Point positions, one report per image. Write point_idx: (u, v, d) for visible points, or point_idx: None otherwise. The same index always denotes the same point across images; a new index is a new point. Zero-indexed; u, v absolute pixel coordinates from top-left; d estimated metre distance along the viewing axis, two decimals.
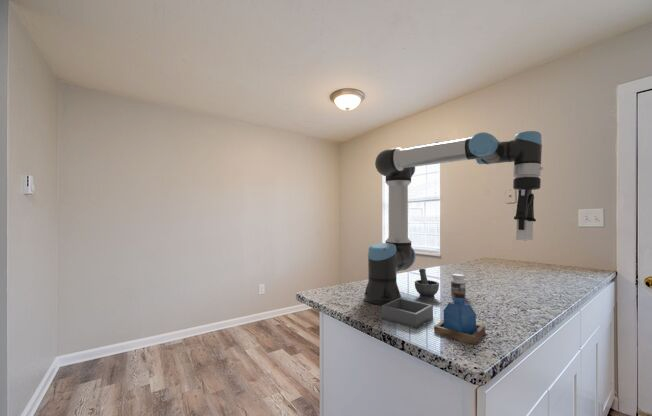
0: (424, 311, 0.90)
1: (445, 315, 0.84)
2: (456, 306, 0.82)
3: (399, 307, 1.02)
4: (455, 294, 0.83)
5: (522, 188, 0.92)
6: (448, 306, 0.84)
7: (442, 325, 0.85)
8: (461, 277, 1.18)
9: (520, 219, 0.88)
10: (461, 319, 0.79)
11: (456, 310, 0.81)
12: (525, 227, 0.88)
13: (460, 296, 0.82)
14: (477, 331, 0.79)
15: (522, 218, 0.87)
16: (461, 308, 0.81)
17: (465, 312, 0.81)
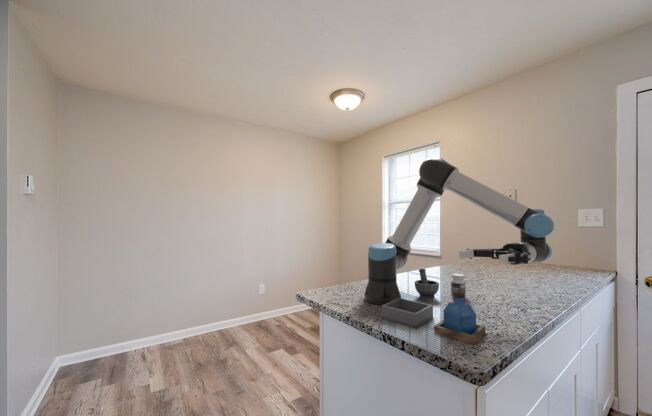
0: (424, 311, 0.90)
1: (445, 315, 0.84)
2: (456, 306, 0.82)
3: (399, 307, 1.02)
4: (455, 294, 0.83)
5: (522, 253, 0.93)
6: (448, 306, 0.84)
7: (442, 325, 0.85)
8: (461, 277, 1.18)
9: (519, 258, 0.84)
10: (461, 319, 0.79)
11: (456, 310, 0.81)
12: (510, 262, 0.84)
13: (460, 296, 0.82)
14: (477, 331, 0.79)
15: (522, 260, 0.83)
16: (461, 308, 0.81)
17: (465, 312, 0.81)
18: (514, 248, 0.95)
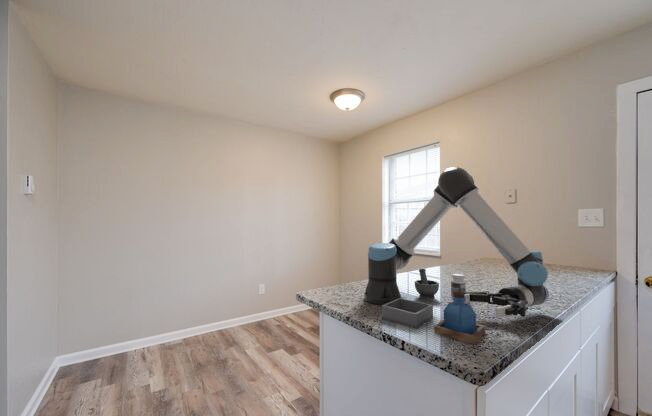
0: (424, 311, 0.90)
1: (445, 315, 0.84)
2: (456, 306, 0.82)
3: (399, 307, 1.02)
4: (455, 294, 0.83)
5: (519, 300, 0.90)
6: (448, 306, 0.84)
7: (442, 325, 0.85)
8: (461, 277, 1.18)
9: (516, 310, 0.81)
10: (461, 319, 0.79)
11: (456, 310, 0.81)
12: (506, 314, 0.81)
13: (460, 296, 0.82)
14: (477, 331, 0.79)
15: (519, 313, 0.81)
16: (461, 308, 0.81)
17: (465, 312, 0.80)
18: (511, 294, 0.93)
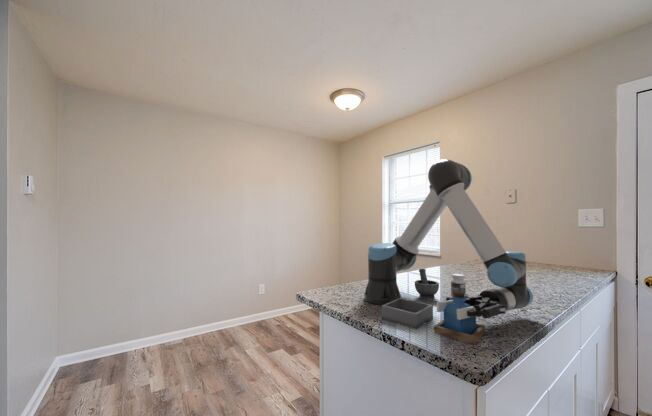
0: (424, 311, 0.90)
1: (445, 315, 0.84)
2: (456, 306, 0.82)
3: (399, 307, 1.02)
4: (455, 294, 0.83)
5: (500, 304, 0.86)
6: (448, 306, 0.84)
7: (442, 325, 0.85)
8: (461, 277, 1.18)
9: (479, 312, 0.79)
10: (461, 319, 0.79)
11: (456, 310, 0.81)
12: None
13: (460, 296, 0.82)
14: (477, 331, 0.79)
15: (481, 314, 0.79)
16: (461, 307, 0.81)
17: None
18: (492, 296, 0.89)
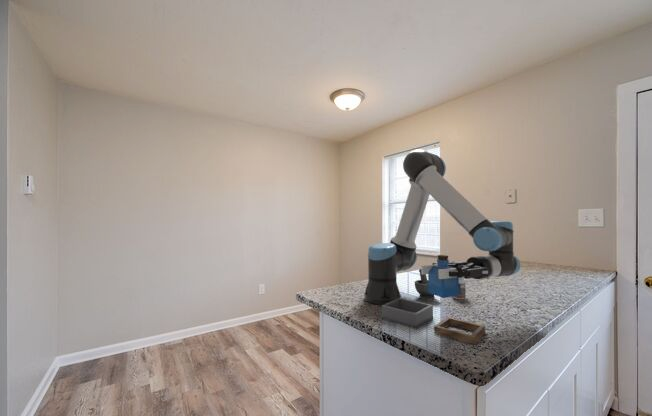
0: (424, 311, 0.90)
1: (429, 277, 0.88)
2: (439, 268, 0.85)
3: (399, 307, 1.02)
4: (439, 257, 0.87)
5: (484, 268, 0.88)
6: (432, 269, 0.88)
7: (442, 325, 0.85)
8: (461, 277, 1.18)
9: (460, 273, 0.83)
10: (443, 279, 0.83)
11: None
12: (450, 276, 0.83)
13: (443, 258, 0.86)
14: (477, 331, 0.79)
15: (462, 275, 0.82)
16: None
17: None
18: (477, 262, 0.92)
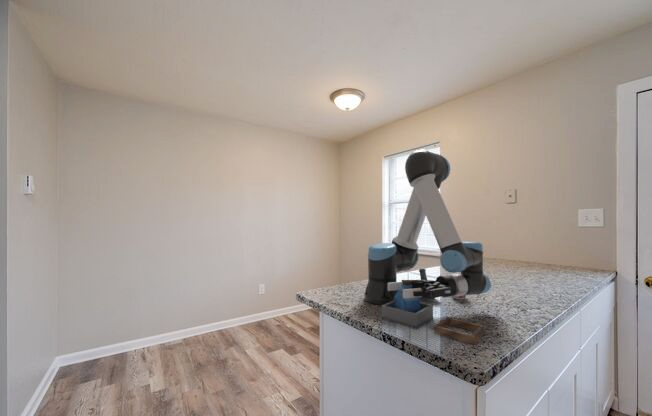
0: (424, 311, 0.90)
1: (395, 300, 0.97)
2: (402, 292, 0.94)
3: None
4: (403, 282, 0.95)
5: None
6: (397, 292, 0.96)
7: (442, 325, 0.85)
8: None
9: (424, 293, 0.89)
10: (405, 303, 0.91)
11: (402, 295, 0.93)
12: None
13: (406, 284, 0.94)
14: (477, 331, 0.79)
15: (426, 295, 0.89)
16: None
17: (409, 298, 0.92)
18: (443, 281, 0.98)
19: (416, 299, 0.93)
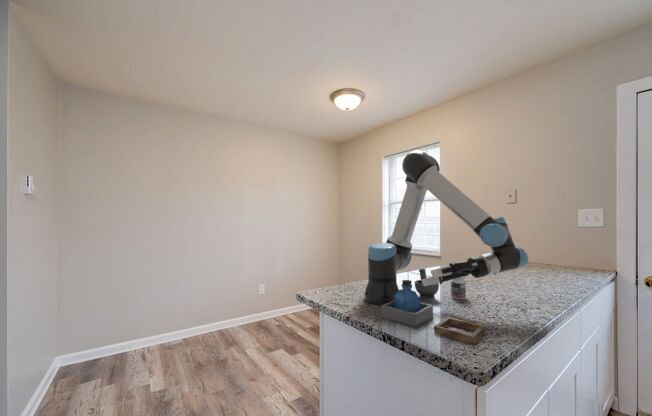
0: (424, 311, 0.90)
1: (395, 300, 0.97)
2: (402, 292, 0.94)
3: None
4: (403, 282, 0.95)
5: None
6: (397, 292, 0.96)
7: (442, 325, 0.85)
8: (461, 277, 1.18)
9: (452, 268, 0.94)
10: (405, 303, 0.91)
11: (402, 295, 0.93)
12: (445, 274, 0.94)
13: (406, 284, 0.94)
14: (477, 331, 0.79)
15: (454, 269, 0.93)
16: (406, 294, 0.93)
17: (409, 298, 0.92)
18: (471, 262, 1.01)
19: (416, 299, 0.93)
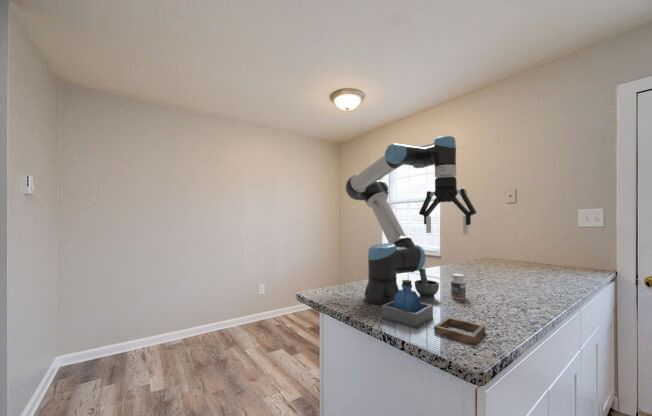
0: (424, 311, 0.90)
1: (395, 300, 0.97)
2: (402, 292, 0.94)
3: None
4: (403, 282, 0.95)
5: None
6: (397, 292, 0.96)
7: (442, 325, 0.85)
8: (461, 277, 1.18)
9: None
10: (405, 303, 0.91)
11: (402, 295, 0.93)
12: None
13: (406, 284, 0.94)
14: (477, 331, 0.79)
15: None
16: (406, 294, 0.93)
17: (409, 298, 0.92)
18: None
19: (416, 299, 0.93)
